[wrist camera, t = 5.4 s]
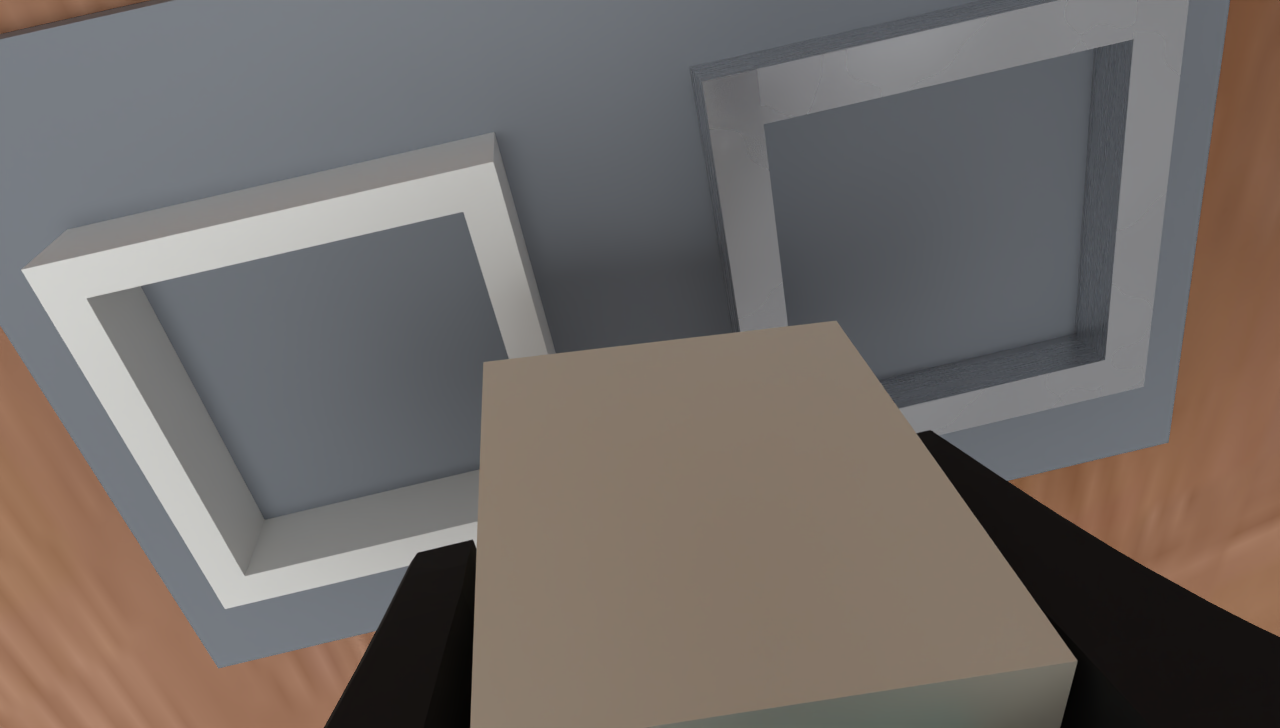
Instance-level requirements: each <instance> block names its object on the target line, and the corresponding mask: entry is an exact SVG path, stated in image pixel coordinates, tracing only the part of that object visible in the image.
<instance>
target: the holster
mask: <svg viewBox="0 0 1280 728" xmlns="http://www.w3.org/2000/svg"><path fill="white" fill-rule="evenodd" d="M1188 6H1189V0H980V1H976V2H972V3H967V4H963V5H958V6H954V7H950V8H945V9H941V10H937V11H932V12H928V13H923V14H919V15H915V16H910V17H906V18H901V19H897V20H893V21H888V22H884V23H880V24H875V25H871V26H866V27H862V28H858V29H853V30H849V31H845V32H840V33H836V34H831V35H827V36H823V37H818V38H814V39H809V40H805V41H801V42H796V43H792V44H788V45H783V46H779V47H774V48H770V49H766V50H761V51H757V52H752V53H748V54H744V55H739V56H735V57H731V58H726V59H722V60H717V61H713V62H709V63H704V64H700V65H696V66H691V67H690V73H691V79H692V86H693V92H694V98H695V105H696V111H697V117H698V124H699V130H700V136H701V142H702V149H703V155H704V161H705V168H706V174H707V180H708V187H709V193H710V199H711V206H712V212H713V218H714V225H715V231H716V237H717V244H718V250H719V256H720V263H721V269H722V275H723V281H724V288H725V294H726V300H727V307H728V313H729V319H730V326H731V332H732V333H735V332H744V331H752V330H761V329H769V328H778V327H786V326H788V321H787V313H786V305H785V297H784V288H783V280H782V272H781V263H780V255H779V247H778V239H777V230H776V222H775V214H774V205H773V197H772V189H771V181H770V172H769V164H768V156H767V147H766V139H765V131H764V124H767V123H771V122H776V121H780V120H784V119H789V118H793V117H798V116H802V115H806V114H811V113H815V112H819V111H824V110H828V109H832V108H837V107H841V106H845V105H850V104H854V103H858V102H863V101H867V100H872V99H876V98H880V97H885V96H889V95H893V94H898V93H902V92H906V91H911V90H915V89H919V88H924V87H928V86H933V85H937V84H941V83H946V82H950V81H954V80H959V79H963V78H967V77H972V76H976V75H980V74H985V73H989V72H994V71H998V70H1002V69H1007V68H1011V67H1015V66H1020V65H1024V64H1028V63H1033V62H1037V61H1041V60H1046V59H1050V58H1054V57H1059V56H1063V55H1068V54H1072V53H1076V52H1081V51H1085V50H1089V49H1094V53H1093V68H1092V83H1091V98H1090V113H1089V128H1088V142H1087V157H1086V172H1085V187H1084V202H1083V216H1082V231H1081V246H1080V261H1079V276H1078V291H1077V305H1076V320H1075V334H1073V335H1068V336H1064V337H1060V338H1056V339H1051V340H1047V341H1043V342H1039V343H1034V344H1030V345H1026V346H1022V347H1017V348H1013V349H1009V350H1005V351H1000V352H996V353H992V354H988V355H983V356H979V357H975V358H971V359H966V360H962V361H958V362H953V363H949V364H945V365H941V366H936V367H932V368H928V369H924V370H919V371H915V372H911V373H907V374H902V375H898V376H894V377H890V378H885V379H881V380H879V382H880V383H881V384H882V386H883V387H884V389H885V390H886V391H887V393H888V394H889V396H890V397H891V398H892V400H893V401H894V403H895V404H896V405H897V407H898V408H899V410H900V411H901V413H902V414H903V415H904V417H905V418H906V420H907V421H908V422H909V424H910V425H911V427H912V428H913V429H914V431H915V432H916V433H919V432H923V431H928V430H931V431H933V432H934V433H936V434H937V435H942V434H947V433H951V432H955V431H959V430H963V429H968V428H972V427H976V426H980V425H985V424H989V423H993V422H997V421H1002V420H1006V419H1010V418H1014V417H1018V416H1023V415H1027V414H1031V413H1035V412H1040V411H1044V410H1048V409H1052V408H1057V407H1061V406H1065V405H1069V404H1073V403H1078V402H1082V401H1086V400H1090V399H1095V398H1099V397H1103V396H1107V395H1111V394H1116V393H1120V392H1124V391H1128V390H1133V389H1137V388H1141V387H1144V381H1145V373H1146V364H1147V356H1148V347H1149V339H1150V330H1151V322H1152V313H1153V305H1154V296H1155V288H1156V279H1157V271H1158V262H1159V253H1160V245H1161V236H1162V228H1163V219H1164V211H1165V202H1166V194H1167V185H1168V177H1169V168H1170V160H1171V151H1172V143H1173V134H1174V125H1175V117H1176V108H1177V100H1178V91H1179V83H1180V74H1181V66H1182V57H1183V49H1184V40H1185V32H1186V23H1187V15H1188Z"/></svg>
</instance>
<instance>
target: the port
mask: <svg viewBox="0 0 1280 728" xmlns="http://www.w3.org/2000/svg"><path fill="white" fill-rule="evenodd" d="M460 212H463V213H464V216H465V219H466V222H467V225H468V229H469V232H470V235H471V238H472V242H473V245H474V248H475V251H476V254H477V258H478V261H479V264H480V267H481V271H482V274H483V277H484V280H485V283H486V287H487V290H488V293H489V296H490V300H491V303H492V306H493V309H494V312H495V316H496V319H497V322H498V325H499V329H500V332H501V335H502V338H503V341H504V345H505V348H506V351H507V354H508V358H509V359H513V358H522V357H531V356H539V355H548V354H556V352H555V349H554V345H553V342H552V338H551V334H550V331H549V327H548V324H547V320H546V316H545V313H544V309H543V306H542V302H541V298H540V295H539V291H538V288H537V284H536V280H535V277H534V273H533V270H532V266H531V262H530V259H529V255H528V252H527V248H526V244H525V241H524V237H523V234H522V230H521V226H520V223H519V219H518V216H517V212H516V208H515V205H514V201H513V198H512V194H511V190H510V187H509V183H508V180H507V176H506V172H505V169H504V165H503V162H502V158H501V154H500V151H499V147H498V144H497V140H496V136H495V133H494V132H492V133H488V134H483V135H479V136H475V137H470V138H466V139H462V140H457V141H453V142H448V143H444V144H440V145H435V146H431V147H427V148H422V149H418V150H413V151H409V152H405V153H400V154H396V155H392V156H387V157H383V158H378V159H374V160H370V161H365V162H361V163H357V164H352V165H348V166H343V167H339V168H335V169H330V170H326V171H322V172H317V173H313V174H308V175H304V176H300V177H295V178H291V179H287V180H282V181H278V182H273V183H269V184H265V185H260V186H256V187H252V188H247V189H243V190H238V191H234V192H230V193H225V194H221V195H217V196H212V197H208V198H203V199H199V200H195V201H190V202H186V203H182V204H177V205H173V206H168V207H164V208H160V209H155V210H151V211H147V212H142V213H138V214H133V215H129V216H125V217H120V218H116V219H112V220H107V221H103V222H98V223H94V224H90V225H85V226H81V227H77V228H72V229H68V230H66V231H65V232H64V233H62V234H61V235H60V236H59V237H58V238H57V239H56V240H55V241H53V242H52V243H51V244H50V245H49V246H48V247H47V248H45V249H44V250H43V251H42V252H41V253H40V254H39V255H37V256H36V257H35V258H34V259H33V260H32V261H31V262H29V263H28V264H27V265H26V266H25V267H24V268H23V269H21V271H22V272H23V274H24V276H25V277H26V279H27V281H28V282H29V284H30V286H31V287H32V289H33V291H34V292H35V294H36V296H37V297H38V299H39V301H40V302H41V304H42V306H43V307H44V309H45V311H46V312H47V314H48V316H49V317H50V319H51V321H52V322H53V324H54V326H55V327H56V329H57V331H58V332H59V334H60V336H61V337H62V339H63V340H64V342H65V344H66V345H67V347H68V349H69V350H70V352H71V354H72V355H73V357H74V359H75V360H76V362H77V364H78V365H79V367H80V369H81V370H82V372H83V374H84V375H85V377H86V379H87V380H88V382H89V384H90V385H91V387H92V389H93V390H94V392H95V394H96V395H97V397H98V399H99V400H100V402H101V404H102V405H103V407H104V409H105V410H106V412H107V414H108V415H109V417H110V419H111V420H112V422H113V424H114V425H115V427H116V429H117V430H118V432H119V434H120V435H121V437H122V439H123V440H124V442H125V444H126V445H127V447H128V449H129V450H130V452H131V454H132V455H133V457H134V459H135V460H136V462H137V464H138V465H139V467H140V469H141V470H142V472H143V474H144V475H145V477H146V479H147V480H148V482H149V484H150V485H151V487H152V489H153V490H154V492H155V494H156V495H157V497H158V499H159V500H160V502H161V504H162V505H163V507H164V509H165V510H166V512H167V514H168V515H169V517H170V519H171V520H172V522H173V524H174V525H175V527H176V529H177V530H178V532H179V534H180V535H181V537H182V539H183V540H184V542H185V544H186V545H187V547H188V548H189V550H190V552H191V553H192V555H193V557H194V558H195V560H196V562H197V563H198V565H199V567H200V568H201V570H202V572H203V573H204V575H205V577H206V578H207V580H208V582H209V583H210V585H211V587H212V588H213V590H214V592H215V593H216V595H217V597H218V598H219V600H220V602H221V603H222V605H223V607H224V608H225V609H228V608H232V607H236V606H241V605H245V604H249V603H253V602H257V601H262V600H266V599H270V598H274V597H279V596H283V595H287V594H291V593H295V592H300V591H304V590H308V589H312V588H317V587H321V586H325V585H329V584H334V583H338V582H342V581H346V580H350V579H355V578H359V577H363V576H367V575H372V574H376V573H380V572H384V571H389V570H393V569H397V568H401V567H405V566H409V565H410V563H411V561H412V560H413V558H414V557H415V555H416V554H417V553H418V552H423V551H427V550H431V549H435V548H439V547H443V546H448V545H452V544H456V543H460V542H464V541H468V540H473V541H474V543H475V546H476V549H477V525H478V497H479V470H475V471H470V472H466V473H462V474H458V475H453V476H449V477H445V478H441V479H436V480H432V481H428V482H424V483H419V484H415V485H411V486H407V487H402V488H398V489H394V490H390V491H385V492H381V493H377V494H373V495H368V496H364V497H360V498H356V499H351V500H347V501H343V502H339V503H334V504H330V505H326V506H322V507H317V508H313V509H309V510H305V511H300V512H296V513H292V514H288V515H283V516H279V517H275V518H270V519H266V520H265V519H264V518H263V516H262V514H261V512H260V510H259V508H258V506H257V504H256V503H255V501H254V499H253V497H252V495H251V493H250V491H249V489H248V487H247V486H246V484H245V482H244V480H243V478H242V476H241V474H240V472H239V470H238V469H237V467H236V465H235V463H234V461H233V459H232V457H231V455H230V454H229V452H228V450H227V448H226V446H225V444H224V442H223V440H222V438H221V437H220V435H219V433H218V431H217V429H216V427H215V425H214V423H213V422H212V420H211V418H210V416H209V414H208V412H207V410H206V408H205V406H204V405H203V403H202V401H201V399H200V397H199V395H198V393H197V391H196V389H195V388H194V386H193V384H192V382H191V380H190V378H189V376H188V374H187V373H186V371H185V369H184V367H183V365H182V363H181V361H180V359H179V357H178V356H177V354H176V352H175V350H174V348H173V346H172V344H171V342H170V341H169V339H168V337H167V335H166V333H165V331H164V329H163V327H162V325H161V324H160V322H159V320H158V318H157V316H156V314H155V312H154V310H153V308H152V307H151V305H150V303H149V301H148V299H147V297H146V295H145V293H144V292H143V290H142V288H141V286H143V285H147V284H151V283H156V282H160V281H164V280H169V279H173V278H177V277H182V276H186V275H190V274H195V273H199V272H203V271H208V270H212V269H217V268H221V267H225V266H230V265H234V264H238V263H243V262H247V261H251V260H256V259H260V258H264V257H269V256H273V255H277V254H282V253H286V252H290V251H295V250H299V249H303V248H308V247H312V246H317V245H321V244H325V243H330V242H334V241H338V240H343V239H347V238H351V237H356V236H360V235H364V234H369V233H373V232H377V231H382V230H386V229H390V228H395V227H399V226H403V225H408V224H412V223H417V222H421V221H425V220H430V219H434V218H438V217H443V216H447V215H451V214H456V213H460Z"/></svg>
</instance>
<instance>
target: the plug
mask: <svg viewBox="0 0 1280 728" xmlns="http://www.w3.org/2000/svg"><path fill="white" fill-rule="evenodd" d="M1077 662H1078V661H1077V659H1076V658H1075V657H1074V655H1073V654H1072V652H1071V651H1070V649H1069V648H1068V647H1067V645H1066V644H1065V642H1064V641H1063V640H1062V638H1061V637H1060V635H1059V634H1058V633H1057V631H1056V630H1055V628H1054V627H1053V625H1052V624H1051V623H1050V621H1049V620H1048V618H1047V617H1046V616H1045V614H1044V613H1043V611H1042V610H1041V609H1040V607H1039V606H1038V604H1037V603H1036V602H1035V600H1034V599H1033V597H1032V596H1031V594H1030V593H1029V592H1028V590H1027V589H1026V587H1025V586H1024V585H1023V583H1022V582H1021V580H1020V579H1019V578H1018V576H1017V575H1016V573H1015V572H1014V570H1013V569H1012V568H1011V566H1010V565H1009V563H1008V562H1007V561H1006V559H1005V558H1004V556H1003V555H1002V554H1001V552H1000V551H999V549H998V548H997V547H996V545H995V544H994V542H993V541H992V539H991V538H990V537H989V535H988V534H987V532H986V531H985V530H984V528H983V527H982V525H981V524H980V523H979V521H978V520H977V518H976V517H975V515H974V514H973V513H972V511H971V510H970V508H969V507H968V506H967V504H966V503H965V501H964V500H963V499H962V497H961V496H960V494H959V493H958V492H957V490H956V489H955V487H954V486H953V484H952V483H951V482H950V480H949V479H948V477H947V476H946V475H945V473H944V472H943V470H942V469H941V468H940V466H939V465H938V463H937V462H936V460H935V459H934V458H933V456H932V455H931V453H930V452H929V451H928V449H927V448H926V446H925V445H924V444H923V442H922V441H921V439H920V438H919V437H918V435H917V434H916V432H915V431H914V429H913V428H912V427H911V425H910V424H909V422H908V421H907V420H906V418H905V417H904V415H903V414H902V413H901V411H900V410H899V408H898V407H897V405H896V404H895V403H894V401H893V400H892V398H891V397H890V396H889V394H888V393H887V391H886V390H885V389H884V387H883V386H882V384H881V383H880V382H879V380H878V379H877V377H876V376H875V374H874V373H873V372H872V370H871V369H870V367H869V366H868V365H867V363H866V362H865V360H864V359H863V358H862V356H861V355H860V353H859V352H858V350H857V349H856V348H855V346H854V345H853V343H852V342H851V341H850V339H849V338H848V336H847V335H846V334H845V332H844V331H843V329H842V328H841V327H840V325H839V324H838V322H837V321H829V322H820V323H812V324H803V325H795V326H786V327H778V328H769V329H761V330H752V331H744V332H735V333H727V334H718V335H710V336H701V337H692V338H684V339H675V340H667V341H658V342H650V343H641V344H633V345H624V346H616V347H607V348H599V349H590V350H582V351H573V352H565V353H556V354H548V355H539V356H531V357H522V358H513V359H505V360H496V361H488V362H483V386H482V413H481V441H480V469H479V497H478V525H477V553H476V581H475V608H474V636H473V664H472V692H471V720H470V728H1060V727H1061V723H1062V719H1063V715H1064V711H1065V708H1066V704H1067V700H1068V696H1069V692H1070V688H1071V685H1072V681H1073V677H1074V673H1075V669H1076V666H1077Z"/></svg>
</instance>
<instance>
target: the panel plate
mask: <svg viewBox="0 0 1280 728" xmlns="http://www.w3.org/2000/svg"><path fill="white" fill-rule="evenodd" d="M976 1H980V0H150V1H146V2H141V3H137V4H132V5H128V6H123V7H119V8H114V9H110V10H106V11H101V12H97V13H92V14H88V15H83V16H79V17H74V18H70V19H65V20H61V21H57V22H52V23H48V24H43V25H39V26H34V27H30V28H25V29H21V30H17V31H12V32H8V33H3V34H0V326H1V327H2V329H3V331H4V332H5V334H6V335H7V337H8V338H9V340H10V342H11V343H12V345H13V346H14V348H15V349H16V351H17V353H18V354H19V356H20V357H21V359H22V360H23V362H24V364H25V365H26V367H27V368H28V370H29V371H30V373H31V375H32V376H33V378H34V379H35V381H36V382H37V384H38V386H39V387H40V389H41V390H42V392H43V393H44V395H45V397H46V398H47V400H48V401H49V403H50V404H51V406H52V408H53V409H54V411H55V412H56V414H57V415H58V417H59V419H60V420H61V422H62V423H63V425H64V426H65V428H66V430H67V431H68V433H69V434H70V436H71V437H72V439H73V441H74V442H75V444H76V445H77V447H78V448H79V450H80V452H81V453H82V455H83V456H84V458H85V459H86V461H87V463H88V464H89V466H90V467H91V469H92V470H93V472H94V474H95V475H96V477H97V478H98V480H99V481H100V483H101V484H102V486H103V488H104V489H105V491H106V492H107V494H108V495H109V497H110V499H111V500H112V502H113V503H114V505H115V506H116V508H117V510H118V511H119V513H120V514H121V516H122V517H123V519H124V521H125V522H126V524H127V525H128V527H129V528H130V530H131V532H132V533H133V535H134V536H135V538H136V539H137V541H138V543H139V544H140V546H141V547H142V549H143V550H144V552H145V554H146V555H147V557H148V558H149V560H150V561H151V563H152V565H153V566H154V568H155V569H156V571H157V572H158V574H159V576H160V577H161V579H162V580H163V582H164V583H165V585H166V587H167V588H168V590H169V591H170V593H171V594H172V596H173V598H174V599H175V601H176V602H177V604H178V605H179V607H180V609H181V610H182V612H183V613H184V615H185V616H186V618H187V620H188V621H189V623H190V624H191V626H192V627H193V629H194V631H195V632H196V634H197V635H198V637H199V638H200V640H201V642H202V643H203V645H204V646H205V648H206V649H207V651H208V653H209V654H210V656H211V657H212V659H213V660H214V662H215V664H216V665H217V667H218V668H222V667H226V666H230V665H234V664H239V663H243V662H247V661H251V660H255V659H260V658H264V657H268V656H272V655H276V654H281V653H285V652H289V651H293V650H297V649H302V648H306V647H310V646H314V645H319V644H323V643H327V642H331V641H335V640H340V639H344V638H348V637H352V636H356V635H361V634H365V633H369V632H373V631H376V630H377V629H378V627H379V625H380V623H381V621H382V619H383V617H384V615H385V613H386V611H387V609H388V607H389V605H390V603H391V601H392V599H393V597H394V595H395V593H396V591H397V589H398V587H399V585H400V583H401V581H402V579H403V577H404V575H405V573H406V571H407V569H408V567H409V566H405V567H401V568H397V569H393V570H389V571H384V572H380V573H376V574H372V575H367V576H363V577H359V578H355V579H350V580H346V581H342V582H338V583H334V584H329V585H325V586H321V587H317V588H312V589H308V590H304V591H300V592H295V593H291V594H287V595H283V596H279V597H274V598H270V599H266V600H262V601H257V602H253V603H249V604H245V605H241V606H236V607H232V608H228V609H225V608H224V607H223V605H222V603H221V602H220V600H219V598H218V597H217V595H216V593H215V592H214V590H213V588H212V587H211V585H210V583H209V582H208V580H207V578H206V577H205V575H204V573H203V572H202V570H201V568H200V567H199V565H198V563H197V562H196V560H195V558H194V557H193V555H192V553H191V552H190V550H189V548H188V547H187V545H186V544H185V542H184V540H183V539H182V537H181V535H180V534H179V532H178V530H177V529H176V527H175V525H174V524H173V522H172V520H171V519H170V517H169V515H168V514H167V512H166V510H165V509H164V507H163V505H162V504H161V502H160V500H159V499H158V497H157V495H156V494H155V492H154V490H153V489H152V487H151V485H150V484H149V482H148V480H147V479H146V477H145V475H144V474H143V472H142V470H141V469H140V467H139V465H138V464H137V462H136V460H135V459H134V457H133V455H132V454H131V452H130V450H129V449H128V447H127V445H126V444H125V442H124V440H123V439H122V437H121V435H120V434H119V432H118V430H117V429H116V427H115V425H114V424H113V422H112V420H111V419H110V417H109V415H108V414H107V412H106V410H105V409H104V407H103V405H102V404H101V402H100V400H99V399H98V397H97V395H96V394H95V392H94V390H93V389H92V387H91V385H90V384H89V382H88V380H87V379H86V377H85V375H84V374H83V372H82V370H81V369H80V367H79V365H78V364H77V362H76V360H75V359H74V357H73V355H72V354H71V352H70V350H69V349H68V347H67V345H66V344H65V342H64V340H63V339H62V337H61V336H60V334H59V332H58V331H57V329H56V327H55V326H54V324H53V322H52V321H51V319H50V317H49V316H48V314H47V312H46V311H45V309H44V307H43V306H42V304H41V302H40V301H39V299H38V297H37V296H36V294H35V292H34V291H33V289H32V287H31V286H30V284H29V282H28V281H27V279H26V277H25V276H24V274H23V272H22V271H21V269H23V268H24V267H25V266H26V265H27V264H28V263H29V262H31V261H32V260H33V259H34V258H35V257H36V256H37V255H39V254H40V253H41V252H42V251H43V250H44V249H45V248H47V247H48V246H49V245H50V244H51V243H52V242H53V241H55V240H56V239H57V238H58V237H59V236H60V235H61V234H62V233H64V232H65V231H66V230H68V229H72V228H77V227H81V226H85V225H90V224H94V223H98V222H103V221H107V220H112V219H116V218H120V217H125V216H129V215H133V214H138V213H142V212H147V211H151V210H155V209H160V208H164V207H168V206H173V205H177V204H182V203H186V202H190V201H195V200H199V199H203V198H208V197H212V196H217V195H221V194H225V193H230V192H234V191H238V190H243V189H247V188H252V187H256V186H260V185H265V184H269V183H273V182H278V181H282V180H287V179H291V178H295V177H300V176H304V175H308V174H313V173H317V172H322V171H326V170H330V169H335V168H339V167H343V166H348V165H352V164H357V163H361V162H365V161H370V160H374V159H378V158H383V157H387V156H392V155H396V154H400V153H405V152H409V151H413V150H418V149H422V148H427V147H431V146H435V145H440V144H444V143H448V142H453V141H457V140H462V139H466V138H470V137H475V136H479V135H483V134H488V133H492V132H494V133H495V136H496V140H497V144H498V147H499V151H500V154H501V158H502V162H503V165H504V169H505V172H506V176H507V180H508V183H509V187H510V190H511V194H512V198H513V201H514V205H515V208H516V212H517V216H518V219H519V223H520V226H521V230H522V234H523V237H524V241H525V244H526V248H527V252H528V255H529V259H530V262H531V266H532V270H533V273H534V277H535V280H536V284H537V288H538V291H539V295H540V298H541V302H542V306H543V309H544V313H545V316H546V320H547V324H548V327H549V331H550V334H551V338H552V342H553V345H554V349H555V352H556V353H565V352H573V351H582V350H590V349H599V348H607V347H616V346H624V345H633V344H641V343H650V342H658V341H667V340H675V339H684V338H692V337H701V336H710V335H718V334H727V333H732V332H731V326H730V319H729V313H728V307H727V300H726V294H725V288H724V281H723V275H722V269H721V263H720V256H719V250H718V244H717V237H716V231H715V225H714V218H713V212H712V206H711V199H710V193H709V187H708V180H707V174H706V168H705V161H704V155H703V149H702V142H701V136H700V130H699V124H698V117H697V111H696V105H695V98H694V92H693V86H692V79H691V73H690V67H691V66H696V65H700V64H704V63H709V62H713V61H717V60H722V59H726V58H731V57H735V56H739V55H744V54H748V53H752V52H757V51H761V50H766V49H770V48H774V47H779V46H783V45H788V44H792V43H796V42H801V41H805V40H809V39H814V38H818V37H823V36H827V35H831V34H836V33H840V32H845V31H849V30H853V29H858V28H862V27H866V26H871V25H875V24H880V23H884V22H888V21H893V20H897V19H901V18H906V17H910V16H915V15H919V14H923V13H928V12H932V11H937V10H941V9H945V8H950V7H954V6H958V5H963V4H967V3H972V2H976ZM1229 4H1230V0H1189V6H1188V15H1187V23H1186V32H1185V40H1184V49H1183V57H1182V66H1181V74H1180V83H1179V91H1178V100H1177V108H1176V117H1175V125H1174V134H1173V143H1172V151H1171V160H1170V168H1169V177H1168V185H1167V194H1166V202H1165V211H1164V219H1163V228H1162V236H1161V245H1160V253H1159V262H1158V271H1157V279H1156V288H1155V296H1154V305H1153V313H1152V322H1151V330H1150V339H1149V347H1148V356H1147V364H1146V373H1145V381H1144V387H1141V388H1137V389H1133V390H1128V391H1124V392H1120V393H1116V394H1111V395H1107V396H1103V397H1099V398H1095V399H1090V400H1086V401H1082V402H1078V403H1073V404H1069V405H1065V406H1061V407H1057V408H1052V409H1048V410H1044V411H1040V412H1035V413H1031V414H1027V415H1023V416H1018V417H1014V418H1010V419H1006V420H1002V421H997V422H993V423H989V424H985V425H980V426H976V427H972V428H968V429H963V430H959V431H955V432H951V433H947V434H942V435H939V436H940V437H942V438H943V439H945V440H947V441H948V442H950V443H951V444H953V445H954V446H956V447H957V448H959V449H960V450H962V451H963V452H965V453H966V454H968V455H969V456H971V457H972V458H974V459H975V460H977V461H978V462H980V463H981V464H983V465H984V466H985V467H987V468H988V469H990V470H991V471H993V472H994V473H996V474H997V475H999V476H1000V477H1002V478H1003V479H1005V480H1006V481H1009V480H1013V479H1017V478H1021V477H1026V476H1030V475H1034V474H1038V473H1042V472H1047V471H1051V470H1055V469H1059V468H1063V467H1068V466H1072V465H1076V464H1080V463H1084V462H1089V461H1093V460H1097V459H1101V458H1105V457H1110V456H1114V455H1118V454H1122V453H1127V452H1131V451H1135V450H1139V449H1143V448H1148V447H1152V446H1156V445H1160V444H1164V443H1168V442H1169V435H1170V427H1171V420H1172V413H1173V406H1174V399H1175V392H1176V384H1177V377H1178V370H1179V363H1180V356H1181V348H1182V341H1183V334H1184V327H1185V320H1186V313H1187V305H1188V298H1189V291H1190V284H1191V277H1192V269H1193V262H1194V255H1195V248H1196V241H1197V233H1198V226H1199V219H1200V212H1201V205H1202V198H1203V190H1204V183H1205V176H1206V169H1207V162H1208V154H1209V147H1210V140H1211V133H1212V126H1213V119H1214V111H1215V104H1216V97H1217V90H1218V83H1219V75H1220V68H1221V61H1222V54H1223V47H1224V40H1225V32H1226V25H1227V18H1228V11H1229ZM1093 53H1094V49H1089V50H1085V51H1081V52H1076V53H1072V54H1068V55H1063V56H1059V57H1054V58H1050V59H1046V60H1041V61H1037V62H1033V63H1028V64H1024V65H1020V66H1015V67H1011V68H1007V69H1002V70H998V71H994V72H989V73H985V74H980V75H976V76H972V77H967V78H963V79H959V80H954V81H950V82H946V83H941V84H937V85H933V86H928V87H924V88H919V89H915V90H911V91H906V92H902V93H898V94H893V95H889V96H885V97H880V98H876V99H872V100H867V101H863V102H858V103H854V104H850V105H845V106H841V107H837V108H832V109H828V110H824V111H819V112H815V113H811V114H806V115H802V116H798V117H793V118H789V119H784V120H780V121H776V122H771V123H767V124H764V131H765V139H766V147H767V156H768V164H769V172H770V181H771V189H772V197H773V205H774V214H775V222H776V230H777V239H778V247H779V255H780V263H781V272H782V280H783V288H784V297H785V305H786V313H787V321H788V326H795V325H803V324H812V323H820V322H829V321H837V322H838V324H839V325H840V327H841V328H842V329H843V331H844V332H845V334H846V335H847V336H848V338H849V339H850V341H851V342H852V343H853V345H854V346H855V348H856V349H857V350H858V352H859V353H860V355H861V356H862V358H863V359H864V360H865V362H866V363H867V365H868V366H869V367H870V369H871V370H872V372H873V373H874V374H875V376H876V377H877V379H878V380H881V379H885V378H890V377H894V376H898V375H902V374H907V373H911V372H915V371H919V370H924V369H928V368H932V367H936V366H941V365H945V364H949V363H953V362H958V361H962V360H966V359H971V358H975V357H979V356H983V355H988V354H992V353H996V352H1000V351H1005V350H1009V349H1013V348H1017V347H1022V346H1026V345H1030V344H1034V343H1039V342H1043V341H1047V340H1051V339H1056V338H1060V337H1064V336H1068V335H1073V334H1075V320H1076V305H1077V291H1078V276H1079V261H1080V246H1081V231H1082V216H1083V202H1084V187H1085V172H1086V157H1087V142H1088V128H1089V113H1090V98H1091V83H1092V68H1093ZM141 288H142V290H143V292H144V293H145V295H146V297H147V299H148V301H149V303H150V305H151V307H152V308H153V310H154V312H155V314H156V316H157V318H158V320H159V322H160V324H161V325H162V327H163V329H164V331H165V333H166V335H167V337H168V339H169V341H170V342H171V344H172V346H173V348H174V350H175V352H176V354H177V356H178V357H179V359H180V361H181V363H182V365H183V367H184V369H185V371H186V373H187V374H188V376H189V378H190V380H191V382H192V384H193V386H194V388H195V389H196V391H197V393H198V395H199V397H200V399H201V401H202V403H203V405H204V406H205V408H206V410H207V412H208V414H209V416H210V418H211V420H212V422H213V423H214V425H215V427H216V429H217V431H218V433H219V435H220V437H221V438H222V440H223V442H224V444H225V446H226V448H227V450H228V452H229V454H230V455H231V457H232V459H233V461H234V463H235V465H236V467H237V469H238V470H239V472H240V474H241V476H242V478H243V480H244V482H245V484H246V486H247V487H248V489H249V491H250V493H251V495H252V497H253V499H254V501H255V503H256V504H257V506H258V508H259V510H260V512H261V514H262V516H263V518H264V519H265V520H266V519H270V518H275V517H279V516H283V515H288V514H292V513H296V512H300V511H305V510H309V509H313V508H317V507H322V506H326V505H330V504H334V503H339V502H343V501H347V500H351V499H356V498H360V497H364V496H368V495H373V494H377V493H381V492H385V491H390V490H394V489H398V488H402V487H407V486H411V485H415V484H419V483H424V482H428V481H432V480H436V479H441V478H445V477H449V476H453V475H458V474H462V473H466V472H470V471H475V470H479V469H480V441H481V413H482V386H483V362H488V361H496V360H505V359H509V358H508V354H507V351H506V348H505V345H504V341H503V338H502V335H501V332H500V329H499V325H498V322H497V319H496V316H495V312H494V309H493V306H492V303H491V300H490V296H489V293H488V290H487V287H486V283H485V280H484V277H483V274H482V271H481V267H480V264H479V261H478V258H477V254H476V251H475V248H474V245H473V242H472V238H471V235H470V232H469V229H468V225H467V222H466V219H465V216H464V213H463V212H460V213H456V214H451V215H447V216H443V217H438V218H434V219H430V220H425V221H421V222H417V223H412V224H408V225H403V226H399V227H395V228H390V229H386V230H382V231H377V232H373V233H369V234H364V235H360V236H356V237H351V238H347V239H343V240H338V241H334V242H330V243H325V244H321V245H317V246H312V247H308V248H303V249H299V250H295V251H290V252H286V253H282V254H277V255H273V256H269V257H264V258H260V259H256V260H251V261H247V262H243V263H238V264H234V265H230V266H225V267H221V268H217V269H212V270H208V271H203V272H199V273H195V274H190V275H186V276H182V277H177V278H173V279H169V280H164V281H160V282H156V283H151V284H147V285H143V286H141Z"/></svg>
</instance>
